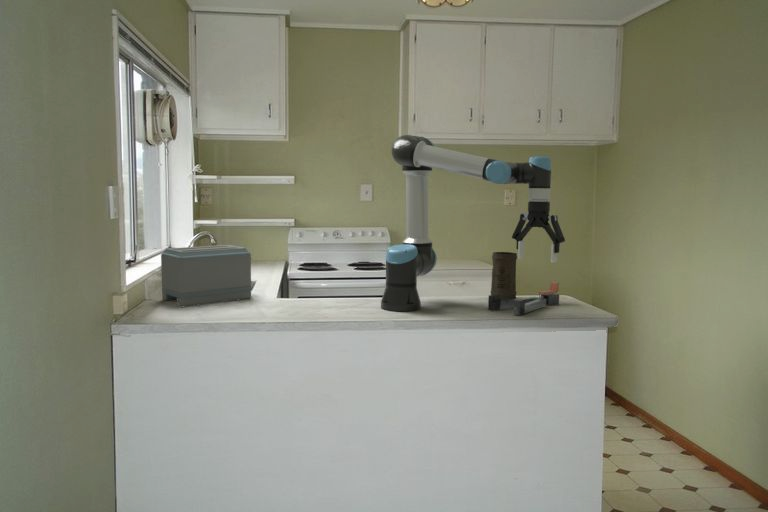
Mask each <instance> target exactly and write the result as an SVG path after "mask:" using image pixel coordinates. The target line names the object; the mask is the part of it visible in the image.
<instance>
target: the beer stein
mask: <svg viewBox="0 0 768 512" xmlns="http://www.w3.org/2000/svg"><path fill="white" fill-rule="evenodd" d="M491 259H492V269H491V286H490V287H491V288H490V295H500V296H501V300H500V301H502V300H511V299H517V289H516V288H517V286H516V285H517V283H516V281H517V278H516V276H517V260H518V252H517V253H516V252H510V251H495V252H492V255H491Z"/></svg>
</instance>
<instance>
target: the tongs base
mask: <svg viewBox="0 0 768 512" xmlns="http://www.w3.org/2000/svg"><path fill="white" fill-rule="evenodd" d="M538 294H539V293H538ZM540 298H543V299H546V307H547V306H548V307H550V306H557V304H558V305H559V304H560V294H558V293H551V294H539V295H538V297H537V296H530V297H529V296H528V297H521V298H516V299H511V300H502V301H500V300H501V296H500V295H491V294H490V295H488V299H487V300H488V303H487V305H488V307H487V310H488V311H490V310H492V311H491V312H494V311H493V310H496V311H502V309H504V310H512V309H514V301H515V300H517V299H524V300H525V303H528V302H531V301H534V300H537V299H540Z"/></svg>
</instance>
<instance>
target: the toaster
mask: <svg viewBox="0 0 768 512" xmlns="http://www.w3.org/2000/svg"><path fill="white" fill-rule="evenodd" d="M160 263H161V264H160V265H161V266H160V267H161V270H160V271H161V294H162V295H161V299H162V301H165V302H167V301H168V302H170V301H176V302H177V304H178V306H179V307H183V308H184V307H185V308H186V307H192V306H194V307H195V306H200V305H201V306H202V305H209V304H216V303H217V304H218V303H223V302H224V303H225V302H231V301H241V300H249V299H251V298H252V254H251V252H250V251H249V250H248V249H247V248H246V247H243V246H237V245H231V244H221V245H220V244H219V245H206V246H205V245H204V246H203V245H202V246H187V247H171V248H170V247H169V248H165V249H164V251H163V252H162V253H161V255H160Z"/></svg>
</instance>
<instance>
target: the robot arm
mask: <svg viewBox="0 0 768 512" xmlns="http://www.w3.org/2000/svg"><path fill="white" fill-rule="evenodd" d="M391 155H392V158H393V160H394V161H395V162H396V163H397V164H399V165H400V166H401V172H402V173H403V174H404V175H405V185H406V187H405V197H406V198H405V201H406V202H405V203H406V204H405V206H406V214H405V215H406V218H405V219H406V238H404V240H403V241H402V244H395V245H390V246H389V247H388V248H387V250H386V253H385V288H384V292H383V294H382V297H381V300H380V308H381V309H383V310H386V311H392V312H414V311H418V310H420V309H422V302H421V298H420V295H419V291H418V288H417V283H418V282H417V281H418V277H419V276H425V275H427V274H428V273H430V272H432V271H433V270H434V268H435V267H436V265H437V261H438V260H437V258H438V257H437V253H436V251H435V250H434V248H433V241H432V240H431V239H430V237H429V176H430V174H431V173H433V169H436V170H441V171H446V172H450V173H453V174H456V175H457V174H458V175H461V176H466V177H470V178H475V179H479V180H484V181H487V182H491V183H492V184H495V185H496V184H497V185H502V184H503V185H508V184H509V185H511V184H512V185H519V184H520V185H522V184H524V185H527V184H528V192H527V193H528V194H527V196H528V198H527V199H528V202H527V212H528V214H527V213H520V215H519V220H518V223H517V225H516V226H515V229H514V231H513V233H512V236H511V239H513V240H515V241H516V250H517V260H524V257H525V241H524V238H525V237H526V236H527V235H528V233H529V232H530V231H531V230H532V229H533V228H542V229H544V231H545V232H546V234H547V235H548V237H549V238H550V240H551V241H552V243H551V249H550V250H551V251H550V263H558V253H560V246H561V244H562V243H565V242H566V239H565V236H564V234H563V232H562V229H561V226H560V224H559V220H558V215H556V214H554V215H553V214H552V215H550V210H551V209H550V208H551V202H550V201H549V200H551V180H552V170H553V169H552V158H550V157H549V156H531V157H530V156H529V160H528V162H511V161H503V160H497V159H493V158H489V157H484V156H479V155H475V154H470V153H465V152H462V151H457V150H451V149H447V148H443V147H439V146H435V144H434V143H433V142H432V141H431V139H428V138H426V137H424V136H418V135H411V134H404V135H401V136H399V137H397V138H396V139H395V140H394V142H393V143H392V145H391ZM527 220H528V222H527ZM526 222H527V223H526ZM550 223H551V224H550ZM551 225H552V226H551Z"/></svg>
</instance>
